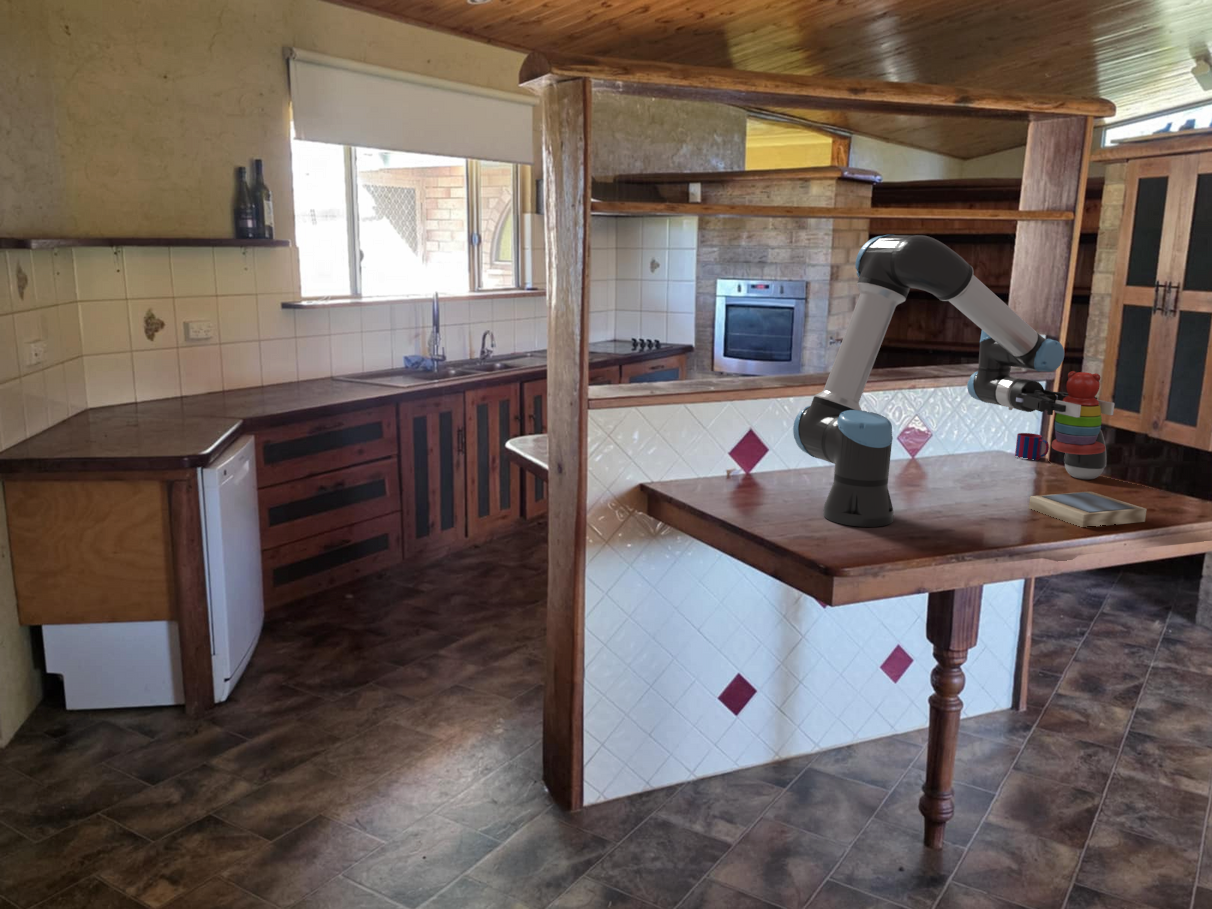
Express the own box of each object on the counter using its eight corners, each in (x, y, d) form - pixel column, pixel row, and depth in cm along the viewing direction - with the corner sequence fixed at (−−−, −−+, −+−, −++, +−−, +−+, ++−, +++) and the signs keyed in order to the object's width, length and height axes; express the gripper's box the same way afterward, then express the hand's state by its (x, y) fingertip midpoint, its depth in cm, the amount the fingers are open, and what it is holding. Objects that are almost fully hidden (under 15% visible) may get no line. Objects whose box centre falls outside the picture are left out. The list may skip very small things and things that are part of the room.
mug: (1028, 454, 284) (1030, 432, 283) (1053, 462, 275) (1056, 439, 274) (1009, 456, 282) (1012, 433, 281) (1034, 463, 273) (1037, 440, 272)
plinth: (1082, 527, 210) (1083, 513, 209) (1028, 508, 225) (1030, 495, 224) (1144, 521, 216) (1146, 508, 215) (1088, 503, 231) (1090, 490, 230)
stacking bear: (1107, 450, 216) (1117, 372, 212) (1094, 457, 209) (1104, 376, 205) (1057, 443, 223) (1066, 367, 219) (1042, 450, 216) (1051, 371, 212)
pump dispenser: (1053, 472, 262) (1060, 418, 258) (1089, 472, 263) (1096, 418, 260) (1075, 482, 252) (1082, 425, 249) (1112, 481, 253) (1120, 425, 250)
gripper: (1054, 407, 235) (1131, 424, 214) (982, 411, 228) (1055, 429, 207) (1058, 377, 233) (1135, 391, 212) (986, 380, 226) (1059, 395, 205)
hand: (1095, 410), depth 210 cm, fingers closed on stacking bear, 9 cm apart
